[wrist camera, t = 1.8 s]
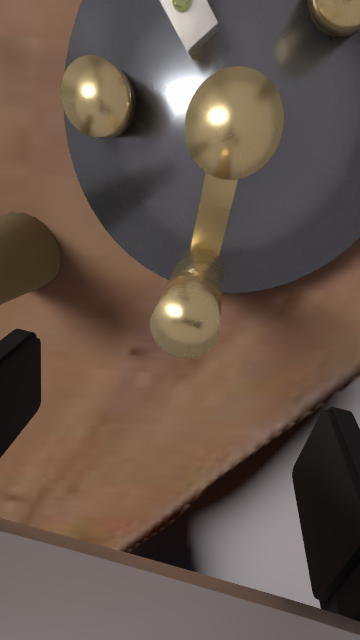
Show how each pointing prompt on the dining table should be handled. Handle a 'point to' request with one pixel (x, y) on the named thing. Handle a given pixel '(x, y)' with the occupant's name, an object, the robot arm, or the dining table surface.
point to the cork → (25, 255)
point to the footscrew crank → (216, 199)
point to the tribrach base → (169, 129)
